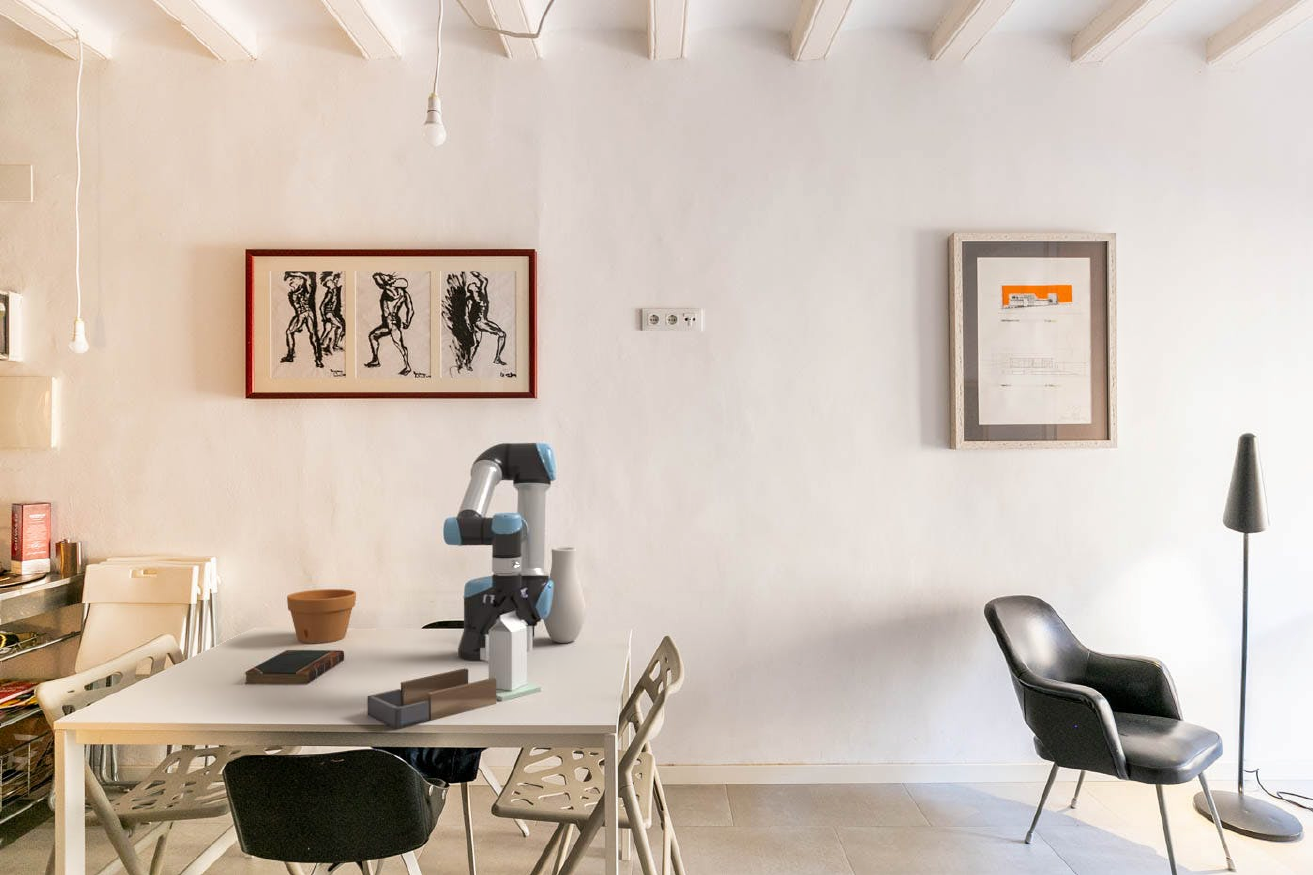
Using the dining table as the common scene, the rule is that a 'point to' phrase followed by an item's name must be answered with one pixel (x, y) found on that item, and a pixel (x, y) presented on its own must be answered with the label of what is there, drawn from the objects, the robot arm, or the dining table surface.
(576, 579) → the vase
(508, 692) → the pad
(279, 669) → the book
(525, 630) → the milk carton
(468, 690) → the channel
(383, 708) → the bin
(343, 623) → the flower pot
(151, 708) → the dining table surface
